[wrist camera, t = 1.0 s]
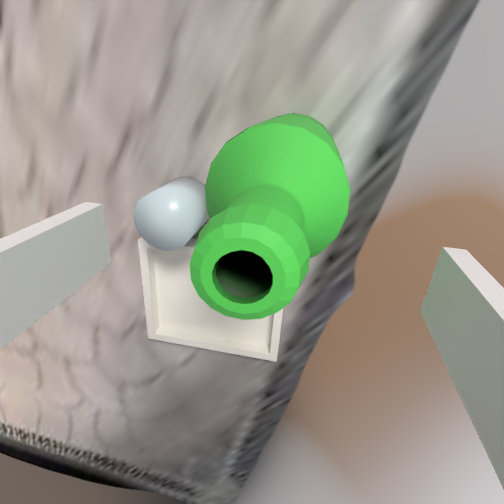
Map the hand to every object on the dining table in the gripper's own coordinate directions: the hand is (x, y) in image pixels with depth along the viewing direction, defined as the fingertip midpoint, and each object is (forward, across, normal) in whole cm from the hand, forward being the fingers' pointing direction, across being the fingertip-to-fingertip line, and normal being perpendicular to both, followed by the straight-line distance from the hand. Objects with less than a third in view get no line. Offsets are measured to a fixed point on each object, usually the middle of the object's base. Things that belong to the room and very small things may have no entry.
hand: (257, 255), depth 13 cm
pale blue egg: (+23, -12, -6) cm, 27 cm away
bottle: (+23, 0, 0) cm, 23 cm away
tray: (+23, -8, -18) cm, 30 cm away
